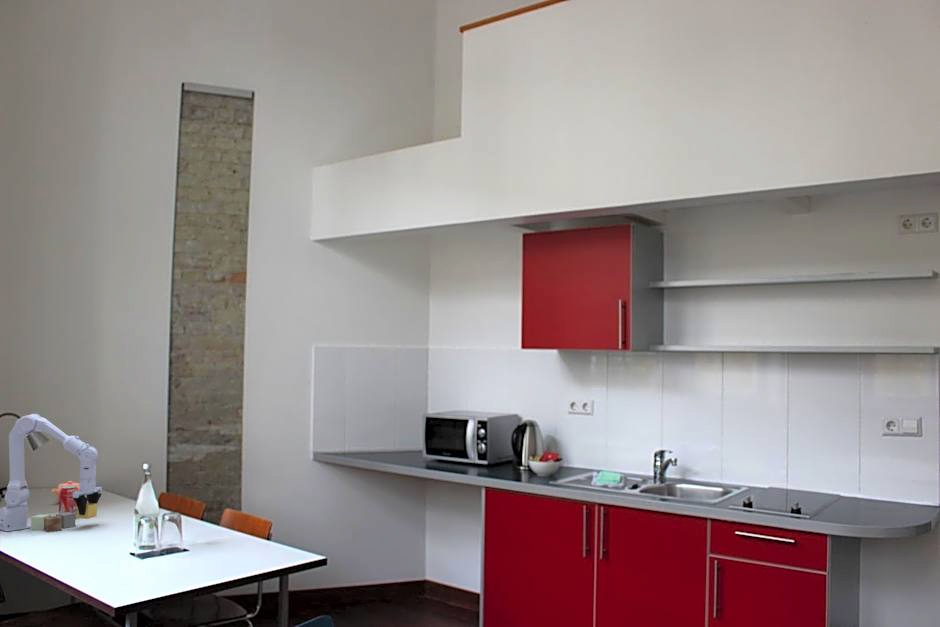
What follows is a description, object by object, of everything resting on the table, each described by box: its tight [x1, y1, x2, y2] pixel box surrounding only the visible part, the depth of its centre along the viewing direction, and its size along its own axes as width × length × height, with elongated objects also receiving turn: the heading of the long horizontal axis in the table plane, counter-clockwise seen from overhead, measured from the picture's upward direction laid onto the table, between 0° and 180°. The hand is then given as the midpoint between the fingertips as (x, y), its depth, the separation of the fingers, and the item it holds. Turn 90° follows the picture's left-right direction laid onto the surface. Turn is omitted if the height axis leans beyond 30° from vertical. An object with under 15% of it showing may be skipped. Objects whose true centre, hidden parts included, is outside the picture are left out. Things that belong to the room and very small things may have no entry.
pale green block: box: [30, 514, 52, 531], centre depth 340 cm, size 5×5×5 cm
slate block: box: [55, 512, 76, 529], centre depth 344 cm, size 5×5×5 cm
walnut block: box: [44, 515, 62, 533], centre depth 337 cm, size 5×5×5 cm
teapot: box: [51, 480, 80, 502], centre depth 393 cm, size 12×12×10 cm
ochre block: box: [76, 502, 98, 520], centre depth 344 cm, size 5×5×5 cm
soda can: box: [58, 485, 78, 519], centre depth 359 cm, size 7×7×13 cm
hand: (87, 513), depth 344 cm, fingers closed on ochre block, 5 cm apart
